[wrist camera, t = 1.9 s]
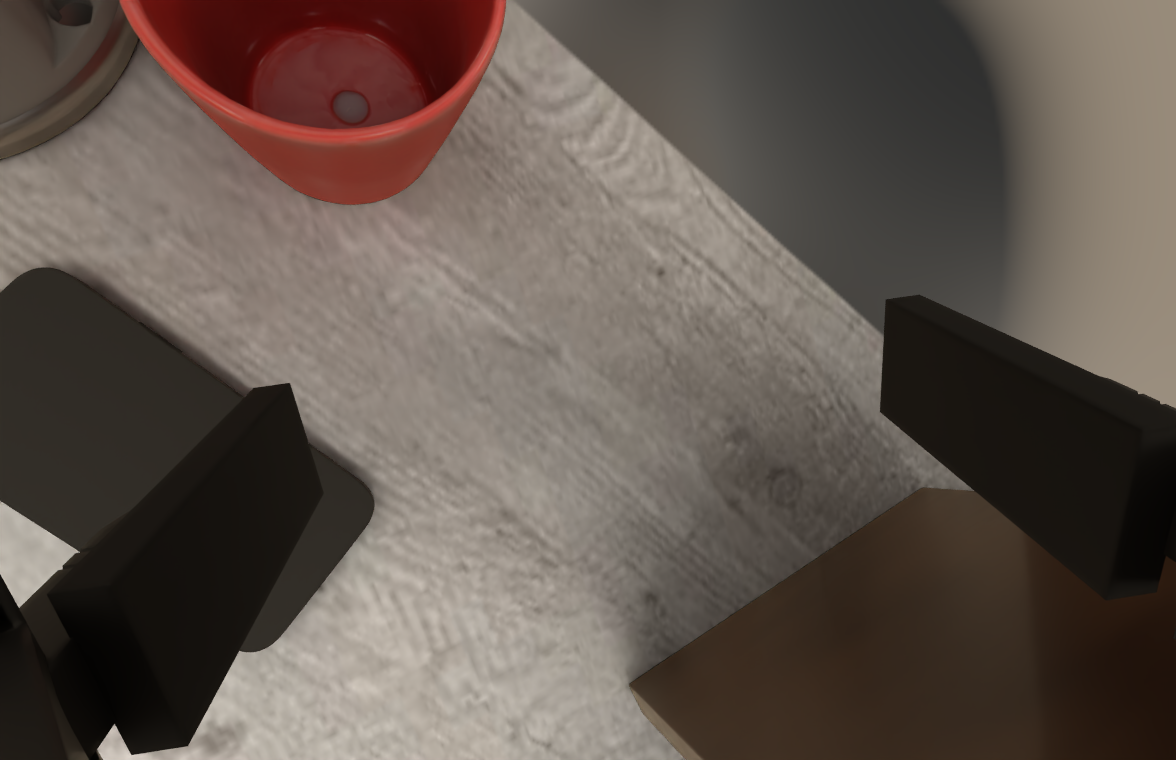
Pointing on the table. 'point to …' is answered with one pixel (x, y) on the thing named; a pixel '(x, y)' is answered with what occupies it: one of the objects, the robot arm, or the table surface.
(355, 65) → the flower pot
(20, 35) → the robot arm
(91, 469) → the phone
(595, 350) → the table surface
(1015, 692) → the shelf
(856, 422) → the table surface
